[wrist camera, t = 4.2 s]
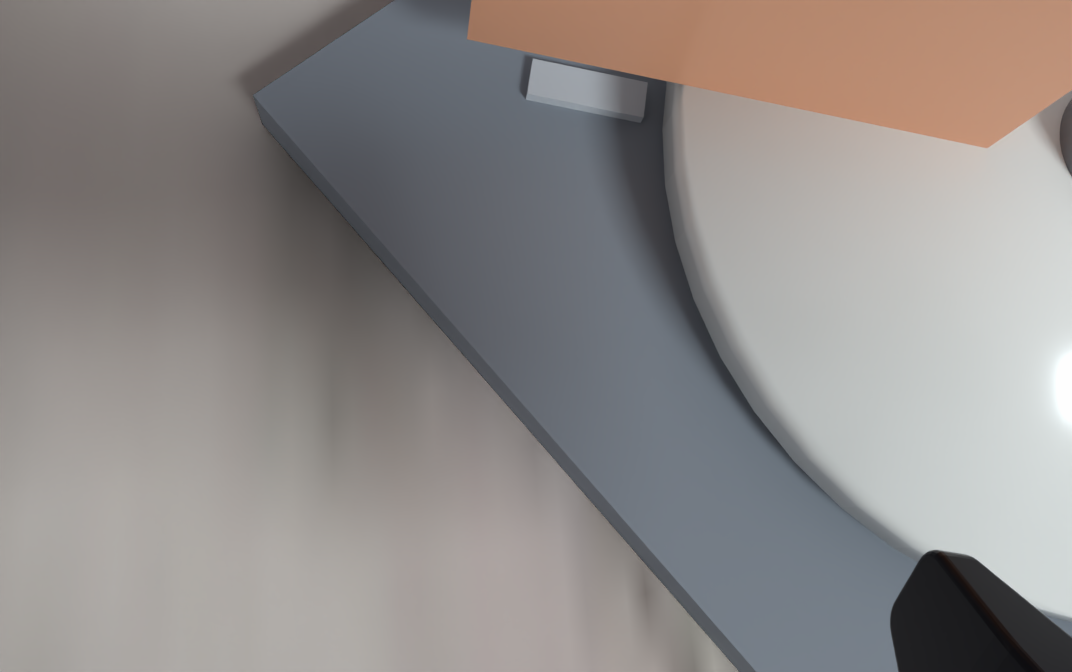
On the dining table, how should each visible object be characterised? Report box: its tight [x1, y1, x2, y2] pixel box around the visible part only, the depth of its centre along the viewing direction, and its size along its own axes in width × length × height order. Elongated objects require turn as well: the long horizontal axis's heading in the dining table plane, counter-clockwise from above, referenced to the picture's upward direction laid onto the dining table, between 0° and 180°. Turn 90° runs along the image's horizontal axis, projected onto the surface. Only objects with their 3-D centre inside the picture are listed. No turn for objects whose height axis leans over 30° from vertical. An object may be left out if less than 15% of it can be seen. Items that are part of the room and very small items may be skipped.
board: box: [253, 0, 1072, 672], centre depth 19 cm, size 24×24×1 cm
